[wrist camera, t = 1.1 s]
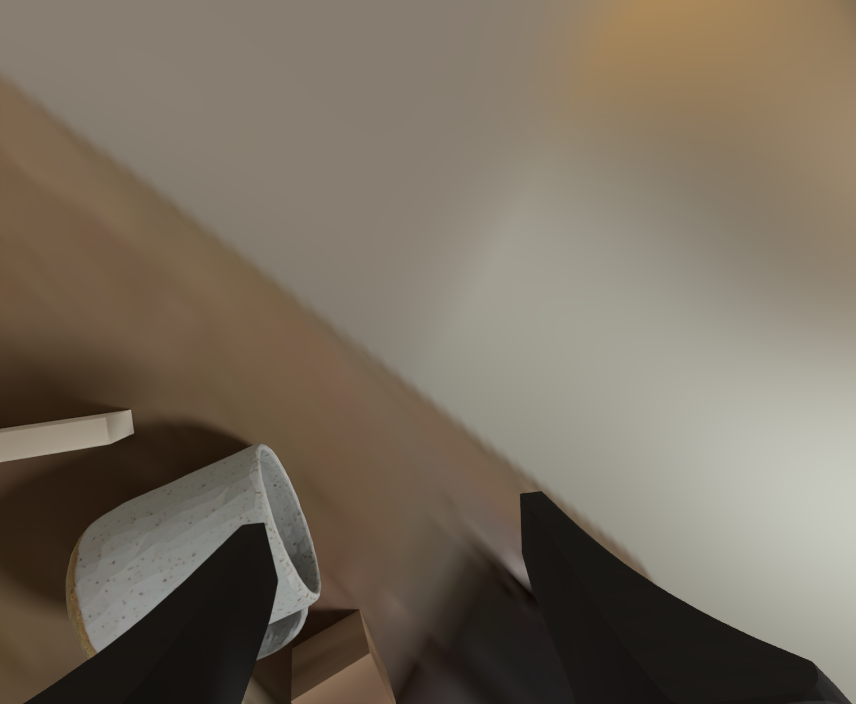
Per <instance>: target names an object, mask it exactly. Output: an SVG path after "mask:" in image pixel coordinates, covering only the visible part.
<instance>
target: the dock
mask: <svg viewBox="0 0 856 704" xmlns="http://www.w3.org/2000/svg"><path fill="white" fill-rule="evenodd" d="M131 434H134V428H133V421H132V414H131V410H125V411H118V412H111V413H105V414H98V415H91V416H84V417H77V418H71V419H64V420H57V421H50V422H43V423H36V424H30V425H23V426H16V427H9V428H2V429H0V462H4V461H10V460H16V459H23V458H29V457H35V456H41V455H47V454H53V453H59V452H65V451H71V450H77V449H84V448H90V447H96V446H102V445H108V444H111V443H114V442H116V441H118V440H120V439H122V438H125V437H127V436H129V435H131Z"/></svg>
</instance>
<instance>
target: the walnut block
mask: <svg viewBox="0 0 856 704" xmlns="http://www.w3.org/2000/svg"><path fill="white" fill-rule="evenodd" d="M291 703H292V704H396V703H395V699H394V695H393V692H392V688H391V685H390V681H389V678H388V674H387V671H386V668H385V666H384V663H383V661H382V659H381V657H380V654H379V652H378V650H377V648H376V645H375V643H374V641H373V639H372V636H371V634H370V632H369V630H368V627H367V625H366V623H365V621H364V618H363V616H362V614H361V611H360V609H359V610H358V611H356V612H354V613H352V614H351V615H349V616H347V617H345V618H344V619H342V620H340V621H339V622H337V623H335V624H333V625H332V626H330V627H328V628H327V629H325V630H323V631H321V632H320V633H318V634H316V635H314V636H313V637H311V638H309V639H308V640H306V641H304V642H302V643H301V644H299V645H297V646H295V647H294V648H292V675H291Z"/></svg>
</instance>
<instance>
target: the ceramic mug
mask: <svg viewBox="0 0 856 704" xmlns="http://www.w3.org/2000/svg"><path fill="white" fill-rule="evenodd" d="M262 522H264V523H265V527H266V531H267V536H268V540H269V544H270V548H271V552H272V556H273V560H274V564H275V568H276V572H277V576H278V580H279V581H278V586H277V591H276V596H275V601H274V605H273V609H272V614H271V618H270V621H269V624H268V627H267V630H266V633H265V636H264V639H263V642H262V645H261V648H260V651H259V654H258V657H257V660H259V659H262V658H264V657H266V656H268V655H271V654H273V653H274V652H276V651H278V650H280V649H281V648H283V647H284V646H285V645H287V644H288V643H289V642H290V641H291V640H293V639H294V638H295V637H296V635H297V634H298V633H299V631H300V630H301V628H302V627H303V625H304V622H305V619H306V617H307V613H308V606H310V605H311V604H313V603H314V602H315V601H316V600H317V599H318V598H319V596H320V589H321V582H320V574H319V569H318V563H317V558H316V554H315V550H314V546H313V542H312V539H311V536H310V532H309V529H308V525H307V522H306V519H305V517H304V515H303V512H302V510H301V507H300V504H299V500H298V498H297V495H296V493H295V491H294V489H293V487H292V484H291V482H290V479H289V477H288V476H287V474H286V471H285V470H284V468H283V466H282V465H281V463H280V461H279V459H278V458H277V456H276V455H275V454H274V452H273V451H272V449H270V448H269V447H267V446H266V445H265V444H256V445H253V446H251V447H248V448H246V449H244V450H242V451H240V452H237V453H235V454H233V455H231V456H229V457H226V458H224V459H222V460H220V461H217V462H215V463H213V464H211V465H208V466H206V467H204V468H201V469H199V470H197V471H194V472H192V473H190V474H187V475H185V476H183V477H181V478H179V479H178V480H176V481H173V482H171V483H169V484H166V485H164V486H162V487H159V488H157V489H154V490H152V491H150V492H147V493H145V494H143V495H141V496H138V497H136V498H134V499H131V500H129V501H127V502H125V503H123V504H121V505H120V506H118V507H117V508H115V509H113V510H111V511H110V512H108V513H106V514H105V515H103V516H101V517H100V518H99V519H97V520H96V521H95V522H93V523H92V524H91V525H90V526H89V527H88V528H87V529H86V530H85V531H84V533H83V534H82V535H81V536H80V538H79V540H78V542H77V544H76V546H75V548H74V550H73V552H72V554H71V557H70V561H69V566H68V570H67V577H66V603H67V613H68V617H69V620H70V623H71V627H72V630H73V633H74V635H75V638H76V641H77V643H78V644H79V646H80V648H81V649H82V651H83V653H84V654H85V656H86V657H87V658H88V660H89V659H90V658H91V657H93V656H94V655H96V654H97V653H98V652H100V651H101V650H103V649H104V648H105V647H107V646H108V645H109V644H110V643H112V642H113V641H114V640H115V639H117V638H118V637H119V636H121V635H122V634H123V633H124V632H126V631H127V630H128V629H130V628H131V627H132V626H133V625H134V624H136V623H137V622H138V621H139V620H141V619H142V618H143V617H144V616H145V615H146V614H148V613H149V612H150V611H151V610H152V609H153V608H154V607H156V606H157V605H158V604H159V603H160V602H161V601H162V600H163V599H164V598H166V597H167V596H168V595H169V594H170V593H171V592H172V591H173V590H175V589H176V588H177V587H178V586H179V585H180V584H181V583H182V582H183V581H184V580H186V579H187V578H188V577H189V576H190V575H191V574H192V573H193V572H194V571H195V570H196V569H197V568H198V567H199V566H200V565H201V564H202V563H203V562H204V561H205V560H206V559H207V558H208V557H209V556H210V555H211V554H212V553H213V552H214V551H215V550H216V549H217V548H218V547H219V546H221V545H222V544H223V543H224V542H225V541H226V540H227V539H228V538H229V537H230V536H231V535H232V534H233V533H234V532H235V531H236V530H237V529H238V528H239V527H240V526H241V525H244V524H253V523H262Z"/></svg>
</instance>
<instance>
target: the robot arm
mask: <svg viewBox="0 0 856 704" xmlns="http://www.w3.org/2000/svg"><path fill="white" fill-rule="evenodd" d="M520 507H521V538H522V555H523V558H524V562H525V566H526V570H527V573H528V577H529V580H530V584H531V587H532V590H533V593H534V595H535V598H536V600H537V603H538V605H539V608H540V610H541V613H542V615H543V618H544V620H545V623H546V625H547V628H548V630H549V633H550V635H551V638H552V640H553V643H554V645H555V648H556V650H557V653H558V655H559V658H560V660H561V663H562V665H563V667H564V670H565V673H566V675H567V678H568V681H569V684H570V687H571V689H572V692H573V696H574V699H575V702H576V704H852V703H851V702H850V701H849V700H848V699H847V698H846V697H845V696H844V694H843V693H842V692H841V691H840V690H839V689H838V688H837V686H836V685H835V684H834V683H833V682H832V681H831V680H830V679H829V678H828V677H827V676H825V674H824V673H823V672H822V671H821V670H820V669H819V668H818V667H817V666H816V665H815V664H814V663H813V662H812V661H809V660H807V659H805V658H802V657H800V656H797V655H795V654H793V653H790V652H788V651H786V650H783V649H781V648H778V647H776V646H773V645H771V644H769V643H766V642H764V641H761V640H759V639H757V638H755V637H752V636H750V635H748V634H746V633H744V632H742V631H739V630H738V629H735V628H733V627H731V626H729V625H727V624H725V623H723V622H721V621H719V620H717V619H715V618H713V617H711V616H709V615H707V614H705V613H703V612H701V611H700V610H698V609H696V608H694V607H693V606H691V605H689V604H687V603H686V602H684V601H682V600H680V599H678V598H677V597H675V596H673V595H672V594H670V593H668V592H667V591H665V590H663V589H662V588H660V587H658V586H657V585H655V584H654V583H652V582H651V581H649V580H648V579H646V578H645V577H643V576H642V575H640V574H639V573H637V572H636V571H634V570H633V569H631V568H630V567H629V566H627V565H626V564H624V563H623V562H622V561H620V560H619V559H618V558H616V557H615V556H614V555H613V554H611V553H610V552H609V551H607V550H606V549H605V548H604V547H603V546H601V545H600V544H599V543H598V542H596V541H595V540H594V539H593V538H592V537H591V536H590V535H588V534H587V533H586V532H585V531H584V530H583V529H581V528H580V527H579V526H578V525H577V524H576V523H575V522H574V521H573V520H571V519H570V518H569V517H568V516H567V515H566V514H565V513H564V512H563V511H562V510H561V509H560V508H559V507H558V506H557V505H556V504H555V503H554V502H552V501H551V500H550V499H549V498H548V497H547V496H546V495H545V494H544V493H543V492H542V491H540V492H531V493H522V494H520ZM278 581H279V580H278V576H277V572H276V568H275V564H274V560H273V556H272V552H271V548H270V544H269V540H268V536H267V531H266V527H265V523H264V522H262V523H253V524H244V525H241V526H240V527H239V528H238V529H237V530H236V531H235V532H234V533H233V534H232V535H231V536H230V537H229V538H228V539H227V540H226V541H225V542H224V543H223V544H222V545H221V546H219V547H218V548H217V549H216V550H215V551H214V552H213V553H212V554H211V555H210V556H209V557H208V558H207V559H206V560H205V561H204V562H203V563H202V564H201V565H200V566H199V567H198V568H197V569H196V570H195V571H194V572H193V573H192V574H191V575H190V576H189V577H188V578H187V579H186V580H184V581H183V582H182V583H181V584H180V585H179V586H178V587H177V588H176V589H175V590H173V591H172V592H171V593H170V594H169V595H168V596H167V597H166V598H164V599H163V600H162V601H161V602H160V603H159V604H158V605H157V606H156V607H154V608H153V609H152V610H151V611H150V612H149V613H148V614H146V615H145V616H144V617H143V618H142V619H141V620H139V621H138V622H137V623H136V624H134V625H133V626H132V627H131V628H130V629H128V630H127V631H126V632H124V633H123V634H122V635H121V636H119V637H118V638H117V639H115V640H114V641H113V642H112V643H110V644H109V645H108V646H107V647H105V648H104V649H103V650H101V651H100V652H98V653H97V654H96V655H94V656H93V657H91V658H90V659H89V660H87V661H86V662H84V663H83V664H82V665H80V666H79V667H77V668H76V669H74V670H73V671H72V672H70V673H69V674H67V675H66V676H64V677H63V678H62V679H60V680H59V681H57V682H56V683H55V684H53V685H52V686H50V687H49V688H47V689H46V690H44V691H42V692H41V693H39V694H38V695H36V696H35V697H33V698H32V699H30V700H28V701H27V702H25V703H24V704H241V703H242V700H243V697H244V694H245V691H246V688H247V685H248V683H249V680H250V677H251V674H252V671H253V668H254V665H255V662H256V660H257V657H258V654H259V651H260V648H261V645H262V642H263V639H264V636H265V633H266V630H267V627H268V624H269V621H270V618H271V614H272V609H273V605H274V601H275V596H276V591H277V586H278Z"/></svg>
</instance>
